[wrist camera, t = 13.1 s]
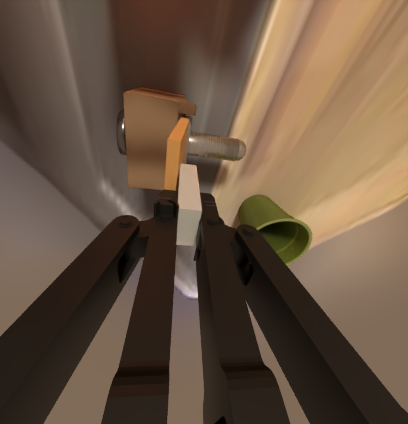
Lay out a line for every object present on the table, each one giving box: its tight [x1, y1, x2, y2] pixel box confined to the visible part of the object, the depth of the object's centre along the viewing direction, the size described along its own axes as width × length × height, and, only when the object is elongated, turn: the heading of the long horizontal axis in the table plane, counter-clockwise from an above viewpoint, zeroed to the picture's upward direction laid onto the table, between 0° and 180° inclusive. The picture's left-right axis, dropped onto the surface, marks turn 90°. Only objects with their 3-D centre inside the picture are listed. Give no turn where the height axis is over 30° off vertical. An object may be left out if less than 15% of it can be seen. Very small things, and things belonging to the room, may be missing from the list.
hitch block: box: [123, 87, 197, 190], centre depth 25 cm, size 10×7×12 cm, turn 170°
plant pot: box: [239, 195, 312, 265], centre depth 36 cm, size 12×12×11 cm
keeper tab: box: [164, 115, 192, 191], centre depth 18 cm, size 8×10×1 cm
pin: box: [117, 110, 246, 161], centre depth 26 cm, size 5×17×5 cm, turn 80°
